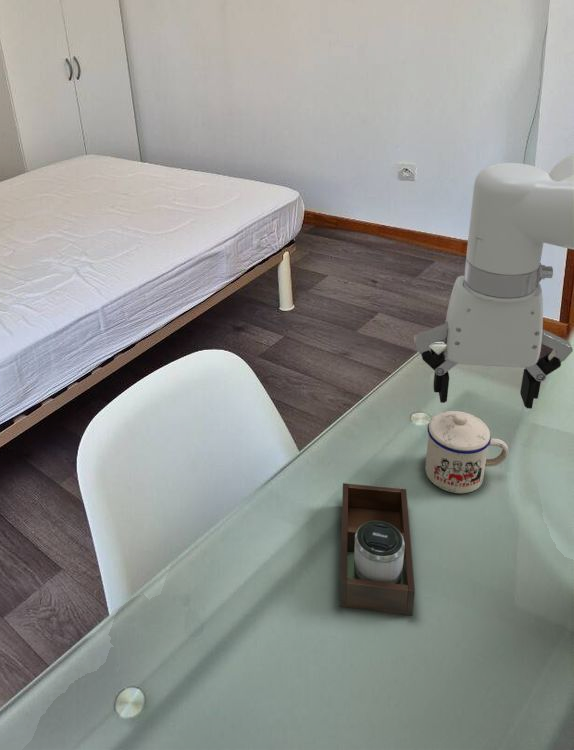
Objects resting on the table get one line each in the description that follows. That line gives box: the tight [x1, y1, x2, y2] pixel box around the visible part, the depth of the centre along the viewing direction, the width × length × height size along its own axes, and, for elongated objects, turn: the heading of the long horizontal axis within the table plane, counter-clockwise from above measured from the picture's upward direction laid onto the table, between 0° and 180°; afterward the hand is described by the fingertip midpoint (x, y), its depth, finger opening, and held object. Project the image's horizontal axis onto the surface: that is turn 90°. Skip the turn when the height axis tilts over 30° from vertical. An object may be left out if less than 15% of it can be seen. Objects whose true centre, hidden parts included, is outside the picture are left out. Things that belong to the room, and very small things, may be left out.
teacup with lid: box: [425, 410, 509, 494], centre depth 106 cm, size 12×9×12 cm
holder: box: [339, 482, 416, 616], centre depth 95 cm, size 9×17×4 cm, turn 168°
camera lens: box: [354, 521, 405, 584], centre depth 90 cm, size 6×6×8 cm
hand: (483, 398), depth 84 cm, fingers open, 9 cm apart
